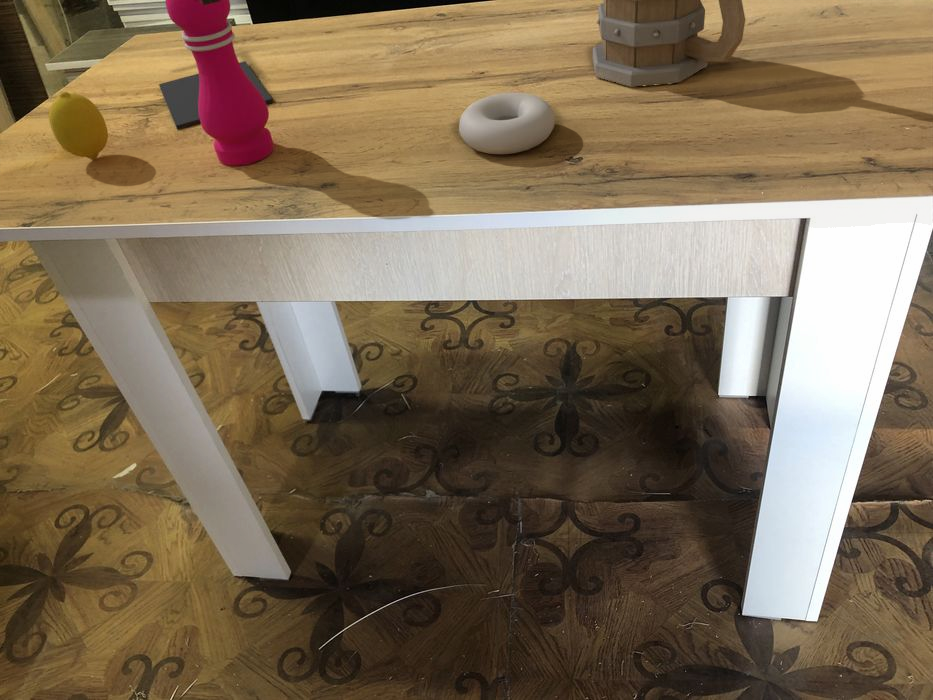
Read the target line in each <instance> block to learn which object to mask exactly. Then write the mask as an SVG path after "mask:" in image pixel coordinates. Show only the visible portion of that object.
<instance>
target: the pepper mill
mask: <svg viewBox="0 0 933 700" xmlns="http://www.w3.org/2000/svg"><path fill="white" fill-rule="evenodd" d="M165 8H166V11H167V14H168V16H169V19H170V21H172V23H174V24H175V25H176V26H177V27H179V28H180V29H181V30H182V31H183V32H182V33H181V39H182V40H183V41H184V48H185V49H187V50H188V51H191V54H192V56H193V58H194V61H195V64H196V67H197V68H196V69H197V71H198V74H199V80H200V85H199V101H198V110H199V118H200V122H201V123H200V126H201V128H202V130H203V131H204V132H205V133H206V134H207V135H208V136H209V137H211V138H213V139H214V143H213V149H214V151H215V153H216V157H217V159H218V161H219V162H220V163H222V164H223V165H225V166H229V167H231V166H232V167H238V166H239V167H240V166H246V165H250V164H254V163H256V162H259V161H262V160H264V159H265V158H267V157H268V156H270V155H271V154H272V153H273V152H274V149H275V144H274V140H273V137H272V134H271V131H270V130H269V129H268V128H266V125H267V123H268V121H269V117H270V116H269V115H270V111H269V108H268V104H266V103H265V100H264V98H263V97H262V95H261V93H260V92H259V90H258V89H257V88H256V87H255V86H254V84H253V83H252V82H251V81H250V80H249V78H248V77H247V76H246V74H245V73H244V72H243V70H242V68H241V66H240V64H239V63H240V62H239V60H238V57H237V54H236V52H235V48H234V42H233V41H234V40H235V38H236V36H235V35H236V34H235V33H234V32H233V25H232V23H230V22H229V21H228V17H229V14H230V11H231V1H230V0H220V2H216V3H211V4H207V5H202V2H201V0H196V1H195V0H165Z"/></svg>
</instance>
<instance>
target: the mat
mask: <svg viewBox="0 0 933 700" xmlns="http://www.w3.org/2000/svg"><path fill="white" fill-rule="evenodd" d="M239 64H240V66H241V68H242V70H243V72H244V73H245V74H246V76H247V77H248V78H249V80H250V81H251V82H252V83H253V84H254V86H255V87H256V88H257V89H258V90H259V92H260V93H261V95H262V97H263V98H264V100H265V103H266V105H270V104H273V103H274V99H273V98H272V96H271V94H270V93H269V92H268V90H267V89H266V88H265V87H264V85H263V84H262V82H261V81H260V80H259V78H258V76H256V74H255V73H254V71H253V70H252V68H251V67H250V65H249V64H248V62H247V61H246V60H244V61H240V62H239ZM199 85H200V80H199V73H195V74H192V75H187V76H183V77H180V78H177V79H173V80H169V81H166V82H161V83H158V86H159V88H160V91H161V94H162V96H163V98H164V102H165V103H166V106H167V108H168V111H169V113H170V116H171V118H172V120H173V123H174V126H175V127H176V130H181V129H184V128H187V127H192V126H195V125H198V124H201V122H200V118H199V110H198V101H199Z"/></svg>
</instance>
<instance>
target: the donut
mask: <svg viewBox="0 0 933 700" xmlns="http://www.w3.org/2000/svg"><path fill="white" fill-rule="evenodd" d="M555 123H556V120H555V112H554V109H553V108H552V106H551V105H550V104H549V103H548V102H547V101H546V99H544V98H542V97H540V96H537V95H536V94H530V93H525V92H514V91H513V92H510V91H509V92H502V93H495V94H491V95H488V96H485V97H483V98H480V99H478V100H476V101H474V102H473V103H471V104H469V106H467V107H466V109H465V110H464V111H463V113H462V114H461V116H460V118H459V125H458V132H459V135H460V136H461V138H462V140H463V141H464V143H465V144H466V145H467V146H468V147H470V148H472V149H474V150H475V151H476V152H481V153H485V154H488V155H510V154H512V155H513V154H517V153H522V152H525V151H529V150H531V149H533V148H535V147H538V146H539V145H541V144H542V143H543V142H544V141H546V140H547V139H548V138H549V136H550V135H551V133H552V132H553V129H554V128H555Z"/></svg>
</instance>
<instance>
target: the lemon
mask: <svg viewBox="0 0 933 700" xmlns="http://www.w3.org/2000/svg"><path fill="white" fill-rule="evenodd" d="M48 121H49V125H50V128H51V131H52V134H53V136H54V137H55V140H56V142H58V144H59V145H60V146H61V147H62V148H63V149H64V150H65V151H66V152H67V153H70V154H71V155H73V156H76V157H81V158H87V159H89V160H92V161H93V160H96V159H97V158H98V156H99V153H100V152H102V151H103V150H104V149H105V147H106V145H107V143H108V139H109V132H108V128H107V122H106V120H105V118H104V116H103V114H102V113H101V111H100V110H99V108H98V107H97V105H95V103H93V102H92V101H91V100H90V99H89V98H87V97H86V96H84V95H82V94H78V93H72V92H70V93H69V92H67V91H62V92H60V93H59V95H58V96H57V97H56V98H55V99H54V100H53V101H52V103H51V104H50V107H49V110H48Z"/></svg>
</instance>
